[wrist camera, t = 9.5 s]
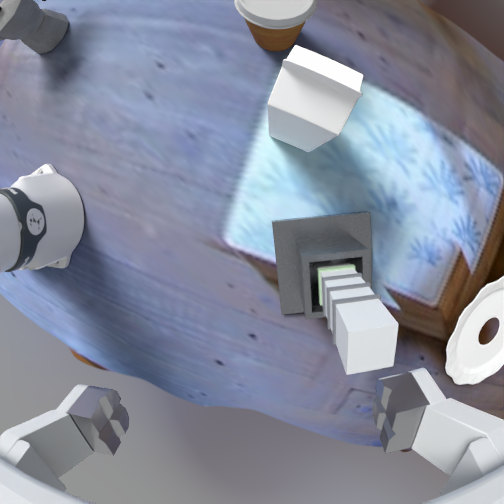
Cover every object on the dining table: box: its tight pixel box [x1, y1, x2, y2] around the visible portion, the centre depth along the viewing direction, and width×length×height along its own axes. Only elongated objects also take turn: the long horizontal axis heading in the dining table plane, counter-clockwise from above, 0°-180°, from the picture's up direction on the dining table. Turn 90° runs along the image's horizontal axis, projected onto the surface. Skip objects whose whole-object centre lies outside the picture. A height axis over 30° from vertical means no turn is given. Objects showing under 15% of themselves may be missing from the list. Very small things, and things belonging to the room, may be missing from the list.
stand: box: [272, 212, 372, 319], centre depth 38 cm, size 14×14×10 cm
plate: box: [445, 275, 504, 385], centre depth 44 cm, size 25×25×2 cm
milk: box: [268, 45, 363, 153], centre depth 28 cm, size 6×6×22 cm
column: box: [318, 263, 398, 374], centre depth 28 cm, size 4×4×16 cm
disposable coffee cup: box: [234, 0, 317, 51], centre depth 29 cm, size 10×10×12 cm
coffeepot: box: [0, 0, 69, 54], centre depth 26 cm, size 15×9×18 cm, turn 146°
